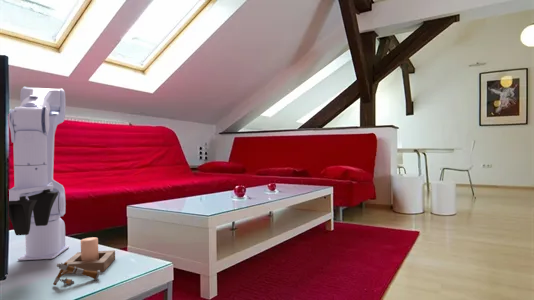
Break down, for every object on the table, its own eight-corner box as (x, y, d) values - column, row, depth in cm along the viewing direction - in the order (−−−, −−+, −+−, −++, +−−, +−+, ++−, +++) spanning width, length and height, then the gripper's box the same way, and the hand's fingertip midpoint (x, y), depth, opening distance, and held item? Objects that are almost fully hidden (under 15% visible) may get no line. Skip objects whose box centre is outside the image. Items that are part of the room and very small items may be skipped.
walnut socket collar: (78, 260, 82) (77, 252, 82) (115, 258, 83) (115, 250, 83) (62, 273, 74) (62, 264, 74) (103, 271, 75) (103, 262, 75)
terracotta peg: (84, 263, 80) (83, 238, 80) (100, 262, 81) (99, 236, 81) (79, 269, 77) (78, 242, 76) (96, 267, 77) (95, 241, 77)
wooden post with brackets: (48, 281, 68) (59, 259, 69) (90, 290, 71) (100, 269, 72) (47, 285, 66) (58, 262, 67) (90, 293, 70) (100, 271, 71)
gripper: (33, 167, 65) (35, 238, 66) (66, 162, 80) (67, 221, 80) (-8, 167, 64) (-6, 240, 65) (33, 163, 79) (34, 222, 79)
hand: (32, 229), depth 72 cm, fingers open, 7 cm apart
